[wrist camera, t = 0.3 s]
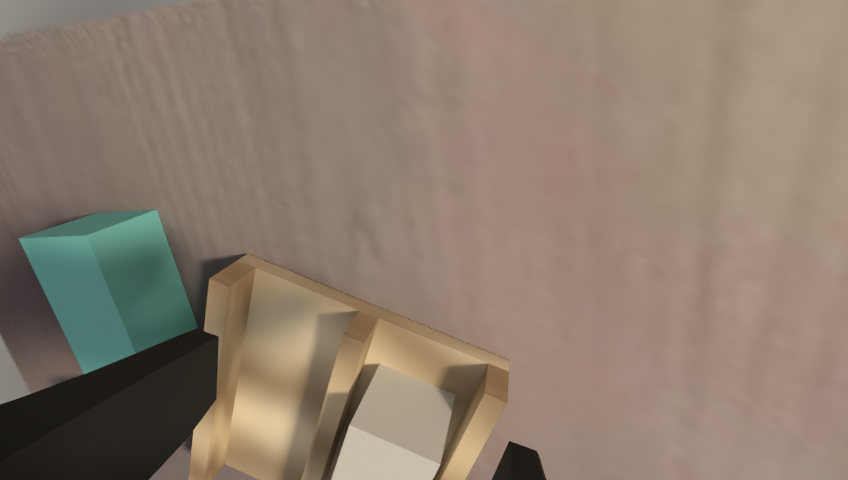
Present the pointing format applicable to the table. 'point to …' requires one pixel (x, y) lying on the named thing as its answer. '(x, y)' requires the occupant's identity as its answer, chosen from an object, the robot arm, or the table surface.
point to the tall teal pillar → (111, 284)
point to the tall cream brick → (396, 430)
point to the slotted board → (323, 376)
